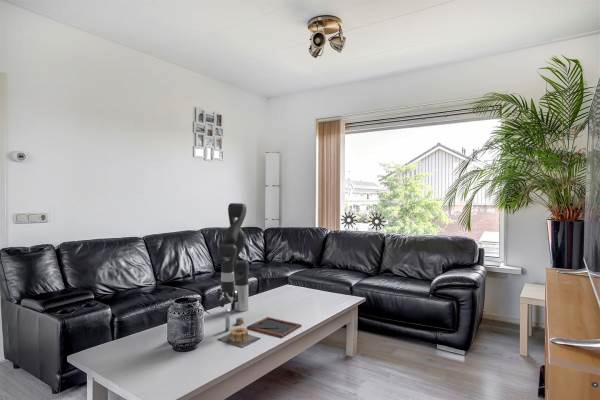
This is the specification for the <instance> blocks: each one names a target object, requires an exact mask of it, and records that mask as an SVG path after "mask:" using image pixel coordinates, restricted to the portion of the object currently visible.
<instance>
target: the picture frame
mask: <svg viewBox="0 0 600 400" xmlns="http://www.w3.org/2000/svg"><path fill="white" fill-rule="evenodd" d="M301 327H302V324H301V323H296V322H291V321H287V320H284V319H279V318H274V317H269V316H266V317H264V318H262V319H261V320H258V321H256V322H254V323H252V324H250V325H247V326H246V329H248V330H250V331H254V332H257V333H261V334H266V335H269V336H274V337H277V338H281V339H283V338H285V337H287V336H288V335H290V334H291V333H293V332H295V331H296V330H298V329H300V328H301Z"/></svg>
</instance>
